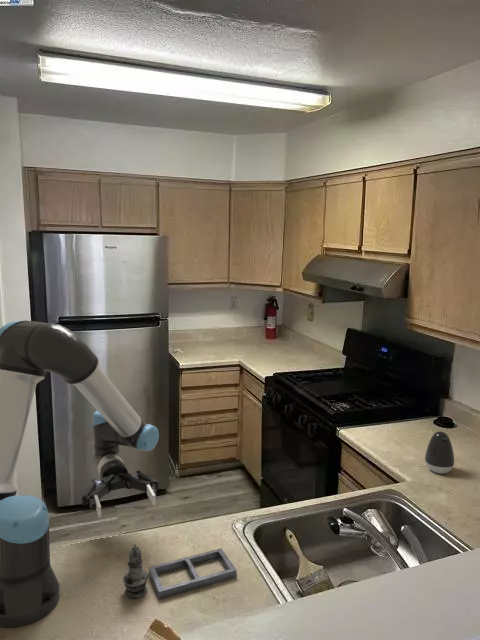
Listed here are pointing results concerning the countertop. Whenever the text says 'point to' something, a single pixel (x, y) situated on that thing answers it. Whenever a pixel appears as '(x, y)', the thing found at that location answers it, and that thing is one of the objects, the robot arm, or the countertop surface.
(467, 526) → the countertop surface
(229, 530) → the countertop surface
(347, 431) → the countertop surface
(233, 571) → the grey flat rectangular frame
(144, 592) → the dark grey chess piece
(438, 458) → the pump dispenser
